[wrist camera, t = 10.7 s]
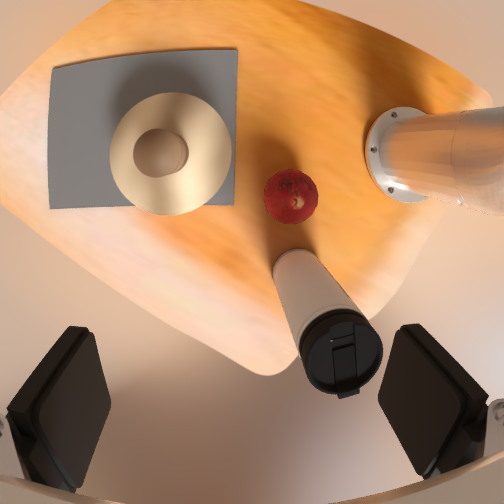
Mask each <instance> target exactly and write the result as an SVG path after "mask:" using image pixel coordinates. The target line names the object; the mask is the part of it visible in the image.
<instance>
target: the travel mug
mask: <svg viewBox="0 0 504 504" xmlns="http://www.w3.org/2000/svg"><path fill="white" fill-rule="evenodd" d="M272 275H273V280H274V283H275V286H276V289H277V292H278V295H279V298H280V301H281V304H282V307H283V309H284V312H285V315H286V318H287V321H288V324H289V327H290V330H291V333H292V336H293V339H294V342H295V344H296V347H297V350H298V353H299V356H300V358H301V360H302V362H303V366H304V368H305V371H306V374H307V377H308V379H309V381H310V383H311V384H312V385H313V386H314V387H315V388H317V389H318V390H320V391H322V392H325V393H328V394H337V395H338V398H339V399H342V398H346V397H349V396H353V395H355V394H359V392H360V390H359V388H360V387H362V386H363V385H365V384H366V383H367V382H369V380H370V379H371V378H372V377H373V376H374V375H375V373H376V372H377V370H378V369H379V366H380V364H381V361H382V357H383V345H382V341H381V339H380V337H379V335H378V334H377V333H376V331H375V330H374V329H373V327H372V326H371V325H370V323H369V322H368V320H367V319H366V317H365V316H364V315H363V313H362V312H361V311H360V310H359V308H358V307H357V306H356V305H355V303H354V302H353V301H352V300H351V298H350V297H349V296H348V295H347V293H346V292H345V291H344V290H343V288H342V287H341V286H340V285H339V283H338V282H337V281H336V280H335V279H334V277H333V276H332V275H331V274H330V272H329V271H328V270H327V269H326V268H325V266H324V265H323V264H322V263H321V262H320V260H319V259H318V258H317V257H316V256H315V255H314V254H313V253H312V252H310V251H308V250H305V249H299V248H298V249H292V250H289V251H287V252H285V253H283V254H282V255H281V256H280V257H279V258H278V259H277V261H276V262H275V264H274V267H273V272H272Z"/></svg>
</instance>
